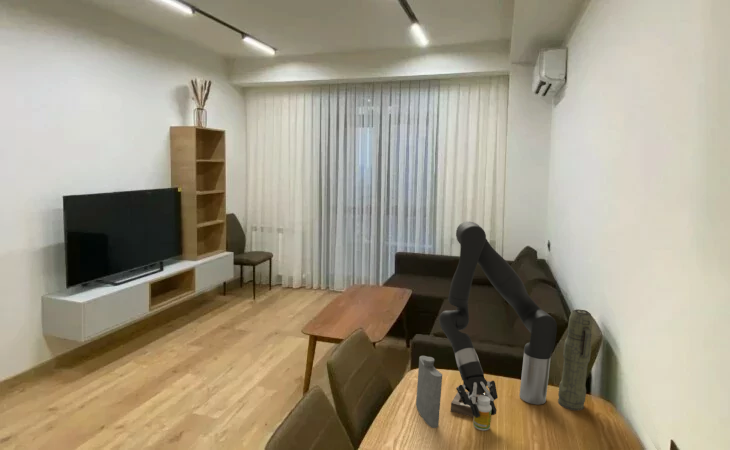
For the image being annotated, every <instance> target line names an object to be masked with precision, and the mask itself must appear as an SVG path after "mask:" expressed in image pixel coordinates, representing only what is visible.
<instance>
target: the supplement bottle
mask: <svg viewBox="0 0 730 450" xmlns="http://www.w3.org/2000/svg"><path fill="white" fill-rule="evenodd" d="M475 404H477V407H478V410H479V413H480V417H478V418H475V416H474V417H473V421H472V423H473V425H472V426H473V427H474V428H475V429H477V430H479V431H488V430H490V429H491V421H492V420H491V419H492V415H491V411H492V407H491V405H490V398H489V397H487V396H483V395H481V396H478V399H477V402H476V403H475Z"/></svg>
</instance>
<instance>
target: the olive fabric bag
mask: <svg viewBox="0 0 730 450" xmlns="http://www.w3.org/2000/svg"><path fill="white" fill-rule="evenodd" d="M592 329H593V318H592V313H591V312H590V311H587V310H584V309H574V310H572V311H571V313H570V314H569V318H568V326H567V334H566V335H567V336H566V338H565V340H564V343H563V344H564V346H563V352H562V353H563V354H562V357H563V365H562V372H561V373H562V374H561V381H560V382H559V386H558V399H557V403H558V404H559V405H560V406H561V407H562V408H565V409H567V410H571V411H582V410H584V407H585V402H586V397H587V396H586V395H587V387H586V381H587V375H588V367H589V366H588V365H589V363H590V362H591V354H592V344H591V341H592Z"/></svg>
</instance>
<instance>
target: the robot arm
mask: <svg viewBox="0 0 730 450" xmlns="http://www.w3.org/2000/svg"><path fill="white" fill-rule="evenodd" d="M455 232H456V233H455V237H456V240H457V242H458V243H459V244H460V250H459V251H460V252H459V254H460V255H459V259H458V264H457V267H456V270H455V272H454V274H453V277H452V280H451V282H450V287H449V288H450V289H449V293H448V298H447V300H448V301H447V302H448V303H449V304H450V305H452V306H454V307H456V309H455V310H454V309H453V310H452V309H451V310H443V311H442V312H441V313H440V314H439V316H438V317H439V318H438V322H439V326H440V328H441V330H442V331H443V334H444V335H445V337H446V338H447V340H448V341H449V343H450V345H451V347H452V350H453V351H452V352H453V353H454V357H455V362H456V366H457V368H458V372H459V374H460V377H461V378H460V379H461V381H462V383H463V384H459V385H458V386H457V387H456V391H457V392H458V393H459V395H460V397H461V399H462V403H464V405H469V406H470V407H471V410H472V413H473V415H474V416H475V418H478V417H480V413H479V410H478V407H477V404H475V403H476V395H483V396H487V397H489V398H490V405H491V407H492V411H491V416H495V415H496V414H497V407H496V405H495V402H494V401H496V399H498V391H497V385H496V382H495V380H491V381H490V380H489V381H488V380H487V379H486V378H485V374H484V370H483V368H482V365H481V363H480V360H479V356H478V354H477V351H476V350H475V348H474V345H473V341H472V339H471V337H470V335H469V334H467V333H464V332H462V331H463V330H465V329H466V328H467V327H468V325H469V322H470V313H469V299H470V294H471V289H472V284H473V279H474V276H475V273H476V272H475V271H476V268H477V265H479V266H480V268H481V270H482V272H483V273H484V275H485V276H486V278H487V279H488V281H489V282H490V284H491V285H492V287H493V288H494V289H495V291H497V293H498V294H499V295H500V296H501V297H502V298H503V299H504V300H505V301H506V302H507V303H508V304H509V306H511V307H512V308H513V310H514V311H515V313H516V314H517V316H518V317H519V318H520V320H521V322H522V324H523V325H524V327H525V328H526V330H527V331H528V332H529V333H530V337H529V338H530V339H529V342H527V343H526V344H525V345H524V348H523V359H522V368H521V369H522V370H521V378H520V379H521V380H520V386H519V398H520V399H521V400H522V401H524V402H526V403H527V404H531V405H544V404H545V403H546V401H547V392H548V385H549V376H550V366H551V357H552V352H553V351H554V349H555V344H556V339H557V338H556V337H557V332H558V331H557V330H558V326H557V324H558V323H557V322H556V319H555V318H554V317H553V316H552V315H550V314H549V313H547V312H546V311H544V309H542V308H541V307H540V306H539V305H538V304H537V303H536V302H535V301H534V300H533V299H532V298H531V296H530V295H529V294H528V291H527V289H526V286H525V284H524V282H523V280H522V279H521V277H520V276H519V275H518V272H516V270H514V268H513V267H512V266H511V265H510V264H509V262H508V261H507V260H506V259H505V258H504V257H502V256H501V255H500V254H499V253H498V251H496V250H495V249H494V248H493V246H492V245H491V244H490V242H489V241H488V239H487V235H486V232H485V230H484V229H483V228H482V227H481V226H480V225H479V224H478V223H476V222H474V221H463V222H462V223H460V224H459V225H458V226H457V228H456V231H455ZM465 391H466V392H469V393H468V395H467V394H466V392H465Z"/></svg>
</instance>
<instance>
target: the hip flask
mask: <svg viewBox="0 0 730 450" xmlns="http://www.w3.org/2000/svg"><path fill="white" fill-rule="evenodd" d="M434 363H435V358H434V357H432V356H427V355H420V356H419V358H418V368H417V369H418V370H417V372H418V373H417V383H416V384H417V385H416V386H417V387H416V398H415V399H416V401H415V406H416V408H417V411H418V413H419V416H420V417H421V418H422V420H423V421H424V422H425V423H426V424H427V425H428V426H429V427H430V428H431V429H437V428H438V427H439V425H440V424H439V423H440V410H441V397H442V396H441V395H442V385H443V373H441V372H440V371H439V370H437V368H436V367H435V366H434Z"/></svg>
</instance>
